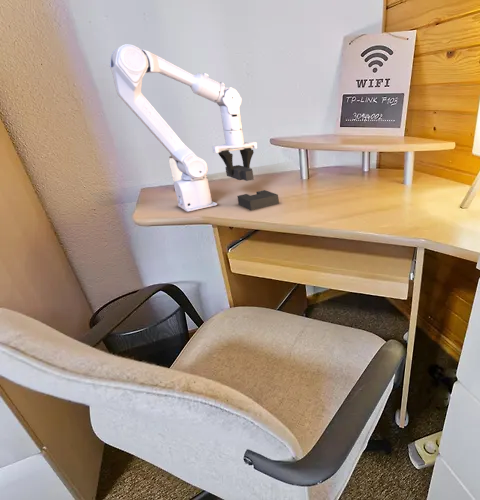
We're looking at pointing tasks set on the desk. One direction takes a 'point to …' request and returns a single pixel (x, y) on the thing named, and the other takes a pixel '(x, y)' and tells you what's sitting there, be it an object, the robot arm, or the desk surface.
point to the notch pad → (258, 200)
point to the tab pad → (241, 173)
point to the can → (174, 170)
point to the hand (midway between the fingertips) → (239, 172)
